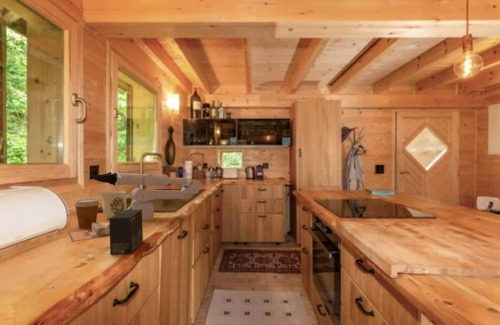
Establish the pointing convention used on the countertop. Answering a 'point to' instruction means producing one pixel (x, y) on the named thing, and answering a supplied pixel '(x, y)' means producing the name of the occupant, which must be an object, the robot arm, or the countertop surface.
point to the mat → (84, 235)
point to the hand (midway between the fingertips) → (96, 178)
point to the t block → (100, 228)
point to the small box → (125, 232)
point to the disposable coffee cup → (86, 212)
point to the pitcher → (114, 202)
